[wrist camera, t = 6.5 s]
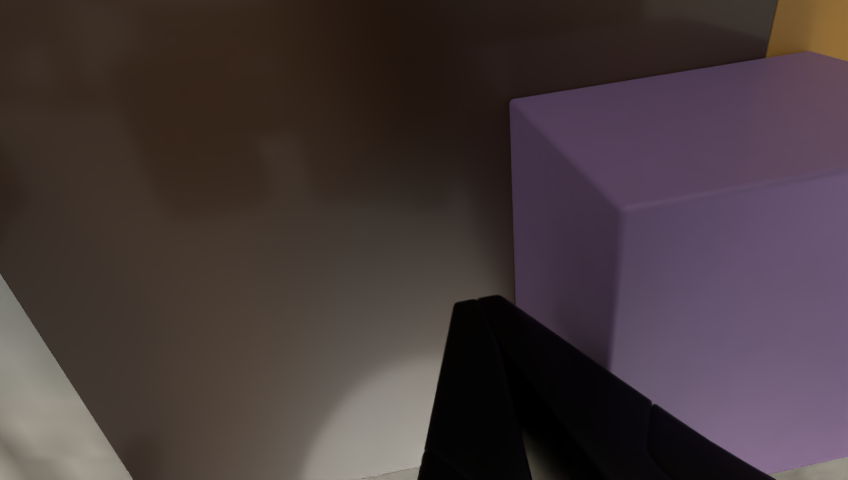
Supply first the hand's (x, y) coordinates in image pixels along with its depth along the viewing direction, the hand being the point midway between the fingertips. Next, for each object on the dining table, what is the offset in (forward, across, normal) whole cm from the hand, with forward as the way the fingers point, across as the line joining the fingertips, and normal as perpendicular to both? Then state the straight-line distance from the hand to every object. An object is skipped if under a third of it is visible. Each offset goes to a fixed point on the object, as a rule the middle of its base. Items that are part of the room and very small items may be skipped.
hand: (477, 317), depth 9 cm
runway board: (+3, +1, 0) cm, 3 cm away
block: (+2, -4, 0) cm, 5 cm away
